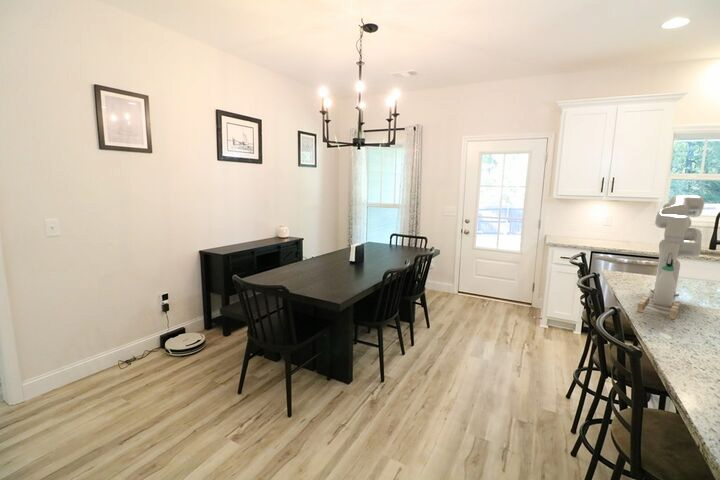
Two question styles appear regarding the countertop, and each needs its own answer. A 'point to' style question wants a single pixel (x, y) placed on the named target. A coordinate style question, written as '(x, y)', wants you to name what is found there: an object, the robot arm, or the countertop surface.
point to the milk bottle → (665, 287)
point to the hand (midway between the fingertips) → (668, 274)
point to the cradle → (658, 308)
